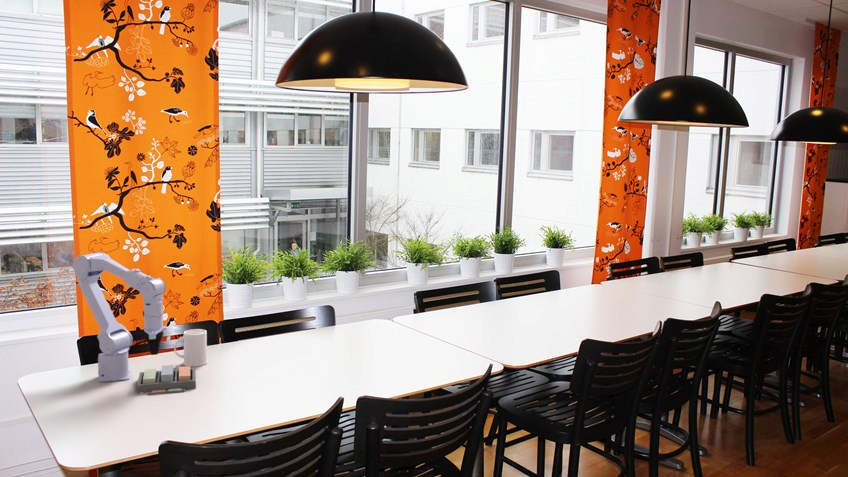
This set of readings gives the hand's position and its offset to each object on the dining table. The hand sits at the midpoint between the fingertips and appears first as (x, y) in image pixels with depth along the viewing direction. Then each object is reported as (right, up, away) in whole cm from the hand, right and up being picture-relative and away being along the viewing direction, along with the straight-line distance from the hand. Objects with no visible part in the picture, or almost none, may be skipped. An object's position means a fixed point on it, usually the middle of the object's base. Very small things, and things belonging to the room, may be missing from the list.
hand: (154, 354), depth 224 cm
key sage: (-1, -10, -2) cm, 10 cm away
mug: (+5, -8, +21) cm, 23 cm away
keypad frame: (+4, -10, 0) cm, 11 cm away
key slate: (+4, -9, 0) cm, 10 cm away
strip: (+7, -11, -7) cm, 15 cm away
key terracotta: (+9, -9, +2) cm, 14 cm away
